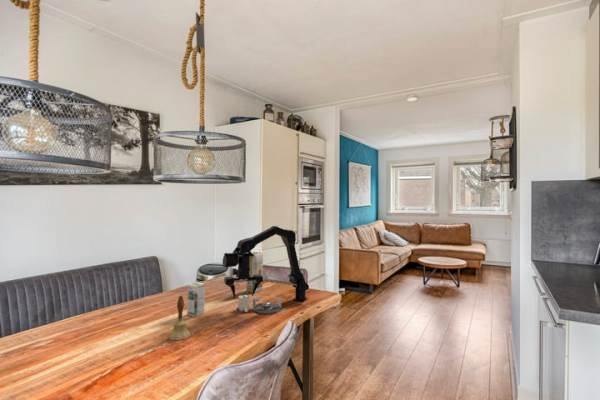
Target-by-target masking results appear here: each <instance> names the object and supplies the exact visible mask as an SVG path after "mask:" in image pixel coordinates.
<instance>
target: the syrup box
mask: <svg viewBox="0 0 600 400" xmlns="http://www.w3.org/2000/svg"><path fill="white" fill-rule="evenodd" d="M205 291H206V283H202V282H196V281H195V282H191V283H189V284H187V310H186V312H187V313H186V314H187V316H191V317H194V318H197V317H199V316H202V315H203V314H205V300H206V299H205V295H206V293H205Z"/></svg>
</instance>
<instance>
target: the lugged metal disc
mask: <svg viewBox="0 0 600 400" xmlns="http://www.w3.org/2000/svg"><path fill="white" fill-rule="evenodd" d="M260 300H261V298H260V297H252V311H253V312H254V313H257V314H259V315H260V314H261V315H273V314H277V313H279V312H280V311H281V310H282V298H281V297H274V302H278V303H274V302H269V301H266V302H261V303H257V302H260ZM256 303H257V304H256Z"/></svg>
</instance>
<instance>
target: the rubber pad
mask: <svg viewBox="0 0 600 400" xmlns="http://www.w3.org/2000/svg"><path fill="white" fill-rule="evenodd" d="M251 310H252V309H251V307H250V306H249V310H248V312H250V311H251ZM236 312H240V313H246V312H245V311H244V310H242V311H240V309H239V308H238V307H237V308H236Z"/></svg>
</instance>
